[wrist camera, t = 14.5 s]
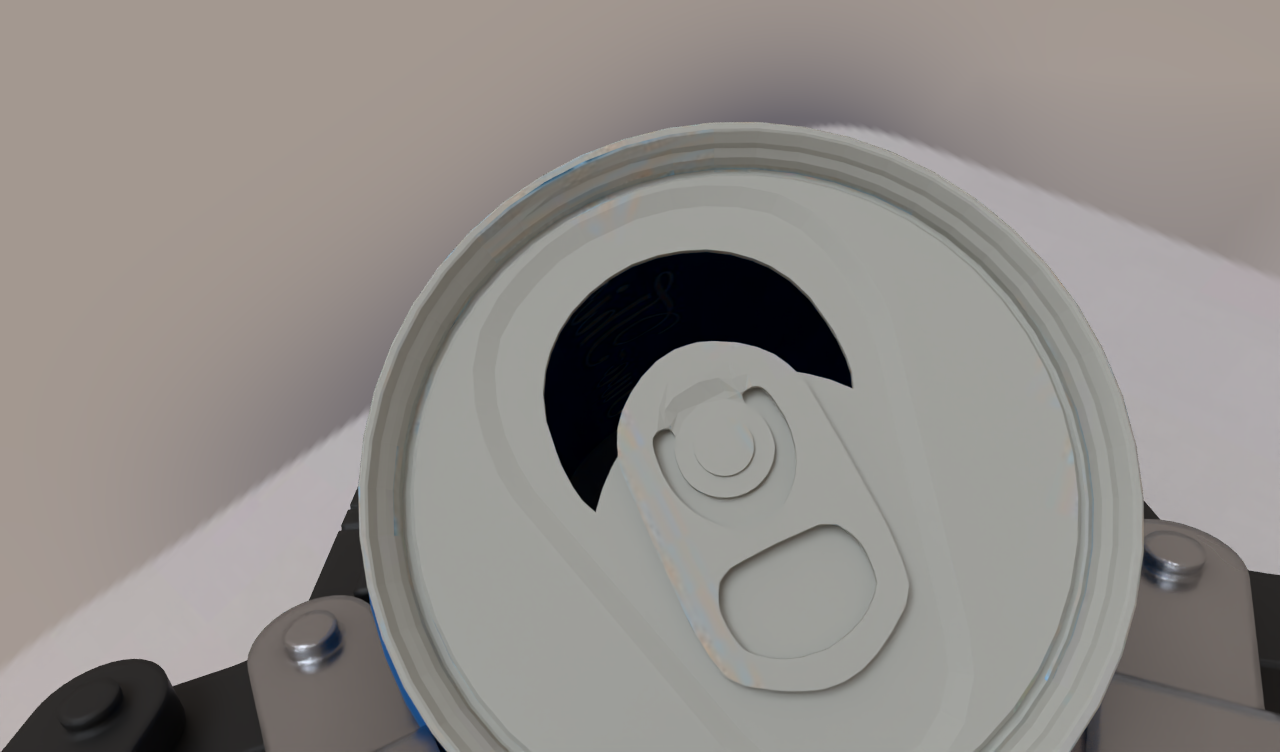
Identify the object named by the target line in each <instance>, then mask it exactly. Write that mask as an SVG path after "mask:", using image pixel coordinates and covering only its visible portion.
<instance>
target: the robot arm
mask: <svg viewBox="0 0 1280 752" xmlns="http://www.w3.org/2000/svg"><path fill="white" fill-rule="evenodd" d="M350 506H351V509H350V510H348V511H347V514H346V516H345V518H344V520H343V523H342V525H341V527H342V531H339V532H338V534H337V537H336V539H335V541H334V544H333V546H332V548H331V551H330V553H329V555H328V557H327V560H326V562H325V564H324V567H323V569H322V571H321V574H320V576H319V578H318V581H317V583H316V585H315V588H314V590H313V592H312V594H311V597H310V599H309V601H307V602H304V603H302V604H300V605H297V606H295V607H293V608H291V609H290V610H288V611H286V612H285V613H283V614H281V615H280V616H279V617H277V618H276V619H275V620H273V621H272V622H271V623H270V624H269V625H268V626H267V627H266V628H264V630H263V631H262V632H261V633H260V634H259V636H258V637H257V638H256V640H255V641H254V643H253V645H252V647H251V649H250V652H249V655H248V660H247V661H245V662H242V663H240V664H237V665H235V666H232V667H229V668H226V669H223V670H220V671H217V672H214V673H211V674H208V675H205V676H202V677H199V678H196V679H193V680H190V681H187V682H184V683H181V684H178V685H176V686H173V687H172V685H171V683H170V681H169V679H168V677H167V675H166V673H165V672H164V670H163V669H162V668H161V667H160V666H159V665H157V664H156V663H154V662H151V661H147V660H143V659H128V660H121V661H116V662H111V663H108V664H105V665H102V666H99V667H96V668H94V669H92V670H89V671H87V672H85V673H83V674H81V675H79V676H77V677H76V678H74V679H72V680H71V681H69V682H68V683H66V684H64V685H63V686H62V687H60V688H59V689H58V690H56V691H55V692H54V693H52V694H51V695H50V696H49V697H48V698H47V699H46V700H44V701H43V702H42V703H41V704H40V706H39V707H38V708H37V709H36V710H35V711H34V712H33V713H32V715H31V716H30V717H29V718H28V719H27V721H26V722H25V723H24V724H23V726H22V727H21V728H20V729H19V731H18V732H17V733H16V734H15V736H14V737H13V738H12V739H11V740H10V742H9V743H8V744H7V745H6V747H5V748H4V749H3V750H2V752H440V750H439V748H438V746H437V744H436V741H435V739H434V737H433V735H432V733H431V731H430V729H429V728H428V726H427V724H426V725H424V726H422V727H419V725H418V723H417V722H416V720H415V718H414V717H413V715H412V714H411V712H410V710H409V709H408V707H407V705H406V703H405V701H404V699H403V697H402V694H401V692H400V690H399V687H398V685H397V683H396V681H395V678H394V676H393V674H392V672H391V669H390V667H389V665H388V663H387V660H386V658H385V655H384V651H383V648H382V645H381V641H380V638H379V634H378V631H377V627H376V624H375V621H374V617H373V614H372V610H371V605H370V599H369V592H368V588H367V582H366V576H365V569H364V563H363V556H362V550H361V544H360V537H359V497H358V488H357V490H356V493H355V495H354V497H353V500H352V502H351V504H350ZM1071 752H1280V575H1274V574H1266V573H1260V572H1254V571H1249V570H1248V569H1247V568H1246V566H1245V564H1244V562H1243V561H1242V559H1241V558H1240V557H1239V556H1238V555H1237V553H1235V552H1234V551H1233V550H1232V549H1231V548H1230V547H1229V546H1227V545H1226V544H1224V543H1223V542H1222V541H1220V540H1219V539H1217V538H1215V537H1213V536H1211V535H1210V534H1208V533H1205V532H1203V531H1201V530H1198V529H1196V528H1193V527H1190V526H1187V525H1184V524H1180V523H1176V522H1172V521H1165V520H1160V519H1159V518H1158V516H1157V515H1156V514H1155V513H1154V512H1153V511H1152V510H1151V508H1150V507H1149V506H1148V505H1147V504H1146V503H1145V501H1144V553H1143V560H1142V568H1141V575H1140V582H1139V590H1138V597H1137V604H1136V608H1135V611H1134V615H1133V619H1132V622H1131V626H1130V629H1129V633H1128V636H1127V640H1126V643H1125V647H1124V650H1123V654H1122V657H1121V659H1120V662H1119V664H1118V666H1117V668H1116V671H1115V673H1114V675H1113V677H1112V679H1111V682H1110V684H1109V686H1108V688H1107V691H1106V693H1105V695H1104V697H1103V700H1102V702H1101V704H1100V706H1099V708H1098V710H1097V711H1096V713H1095V714H1094V716H1093V718H1092V719H1091V721H1090V722H1089V724H1088V725H1087V727H1086V729H1085V730H1084V732H1083V733H1082V735H1081V736H1080V738H1079V740H1078V741H1077V743H1076V744H1075V746H1074V747H1073V749H1072V751H1071Z"/></svg>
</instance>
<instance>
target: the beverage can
mask: <svg viewBox="0 0 1280 752" xmlns="http://www.w3.org/2000/svg"><path fill="white" fill-rule="evenodd" d="M358 497H359V537H360V544H361V550H362V556H363V563H364V569H365V576H366V582H367V588H368V592H369V599H370V605H371V610H372V614H373V617H374V621H375V624H376V627H377V631H378V634H379V638H380V641H381V645H382V648H383V651H384V655H385V658H386V660H387V663H388V665H389V667H390V669H391V672H392V674H393V676H394V678H395V681H396V683H397V685H398V687H399V690H400V692H401V694H402V697H403V699H404V701H405V703H406V705H407V707H408V709H409V710H410V712H411V714H412V715H413V717H414V718H415V720H416V722H417V723H418V725H419V727H422V726H424V725H426V724H427V726H428V728H429V729H430V731H431V733H432V735H433V737H434V739H435V741H436V744H437V746H438V748H439V750H440V752H1071V751H1072V749H1073V747H1074V746H1075V744H1076V743H1077V741H1078V740H1079V738H1080V736H1081V735H1082V733H1083V732H1084V730H1085V729H1086V727H1087V725H1088V724H1089V722H1090V721H1091V719H1092V718H1093V716H1094V714H1095V713H1096V711H1097V710H1098V708H1099V706H1100V704H1101V702H1102V700H1103V697H1104V695H1105V693H1106V691H1107V688H1108V686H1109V684H1110V682H1111V679H1112V677H1113V675H1114V673H1115V671H1116V668H1117V666H1118V664H1119V662H1120V659H1121V657H1122V654H1123V650H1124V647H1125V643H1126V640H1127V636H1128V633H1129V629H1130V626H1131V622H1132V619H1133V615H1134V611H1135V608H1136V604H1137V597H1138V590H1139V582H1140V575H1141V568H1142V560H1143V553H1144V497H1143V490H1142V483H1141V475H1140V468H1139V461H1138V454H1137V446H1136V443H1135V439H1134V435H1133V432H1132V428H1131V424H1130V421H1129V417H1128V413H1127V410H1126V406H1125V402H1124V399H1123V395H1122V393H1121V391H1120V388H1119V386H1118V384H1117V381H1116V379H1115V376H1114V374H1113V372H1112V369H1111V367H1110V364H1109V362H1108V360H1107V357H1106V355H1105V352H1104V350H1103V348H1102V346H1101V344H1100V343H1099V341H1098V339H1097V338H1096V336H1095V334H1094V332H1093V331H1092V329H1091V327H1090V325H1089V324H1088V322H1087V320H1086V318H1085V317H1084V315H1083V313H1082V311H1081V310H1080V308H1079V306H1078V305H1077V303H1076V302H1075V301H1074V299H1073V298H1072V297H1071V295H1070V294H1069V293H1068V291H1067V290H1066V289H1065V287H1064V286H1063V285H1062V283H1061V282H1060V281H1059V279H1058V278H1057V277H1056V275H1055V274H1054V273H1053V271H1052V270H1051V269H1050V267H1049V266H1048V265H1047V264H1046V263H1045V262H1044V261H1043V260H1042V259H1041V258H1040V256H1039V255H1038V254H1037V253H1036V252H1035V251H1034V250H1033V249H1032V248H1031V247H1030V246H1029V245H1028V244H1027V243H1026V242H1025V241H1024V240H1023V239H1022V238H1021V237H1020V236H1019V235H1018V234H1017V233H1016V232H1015V230H1014V229H1012V228H1011V227H1010V226H1009V225H1007V224H1006V223H1005V222H1004V221H1003V220H1001V219H1000V218H999V217H998V216H996V215H995V214H994V213H993V212H992V211H990V210H989V209H988V208H987V207H985V206H984V205H983V204H982V203H981V202H979V201H978V200H977V199H976V198H974V197H972V196H971V195H969V194H968V193H966V192H965V191H963V190H961V189H960V188H958V187H957V186H955V185H954V184H952V183H950V182H949V181H947V180H946V179H944V178H943V177H941V176H939V175H938V174H936V173H935V172H933V171H930V170H928V169H926V168H924V167H922V166H920V165H918V164H916V163H914V162H912V161H910V160H908V159H906V158H904V157H902V156H899V155H897V154H895V153H893V152H891V151H888V150H885V149H882V148H879V147H876V146H873V145H870V144H868V143H865V142H862V141H859V140H856V139H853V138H850V137H847V136H842V135H838V134H833V133H829V132H824V131H820V130H815V129H811V128H806V127H800V126H791V125H790V126H789V125H781V124H771V123H762V122H726V123H725V122H722V123H705V124H697V125H690V126H682V127H675V128H667V129H663V130H659V131H655V132H651V133H647V134H643V135H639V136H635V137H631V138H627V139H623V140H620V141H618V142H615V143H612V144H610V145H607V146H605V147H602V148H599V149H597V150H594V151H592V152H589V153H586V154H584V155H581V156H579V157H577V158H575V159H573V160H571V161H569V162H567V163H566V164H564V165H562V166H560V167H558V168H556V169H554V170H552V171H550V172H548V173H546V174H545V175H543V176H541V177H539V178H538V179H536V180H535V181H533V182H532V183H531V184H529V185H528V186H526V187H525V188H523V189H522V190H520V191H519V192H517V193H516V194H514V195H513V196H512V197H510V198H509V199H507V200H506V201H504V202H503V203H502V204H501V205H500V206H498V207H497V208H496V209H495V210H494V211H493V212H492V213H491V214H489V215H488V216H487V217H486V218H485V219H484V220H483V221H482V222H480V223H479V224H478V225H477V226H476V227H475V228H473V230H471V231H470V232H469V233H468V234H467V235H466V237H465V238H464V239H463V240H462V241H461V242H460V243H459V244H458V245H457V247H456V248H455V249H454V250H453V251H452V252H451V254H449V256H448V257H447V258H446V259H445V260H444V261H443V262H442V263H441V265H440V266H439V267H438V269H437V270H436V271H435V273H434V274H433V276H432V277H431V279H430V280H429V281H428V283H427V284H426V286H425V287H424V289H423V290H422V292H421V293H420V294H419V296H418V297H417V299H416V300H415V302H414V303H413V305H412V307H411V309H410V311H409V312H408V314H407V316H406V318H405V320H404V322H403V324H402V326H401V328H400V330H399V332H398V333H397V335H396V337H395V339H394V341H393V343H392V345H391V347H390V350H389V353H388V355H387V358H386V361H385V363H384V366H383V369H382V371H381V374H380V377H379V380H378V382H377V385H376V387H375V390H374V394H373V399H372V403H371V407H370V411H369V416H368V420H367V424H366V428H365V433H364V437H363V446H362V455H361V465H360V475H359V484H358Z"/></svg>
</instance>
